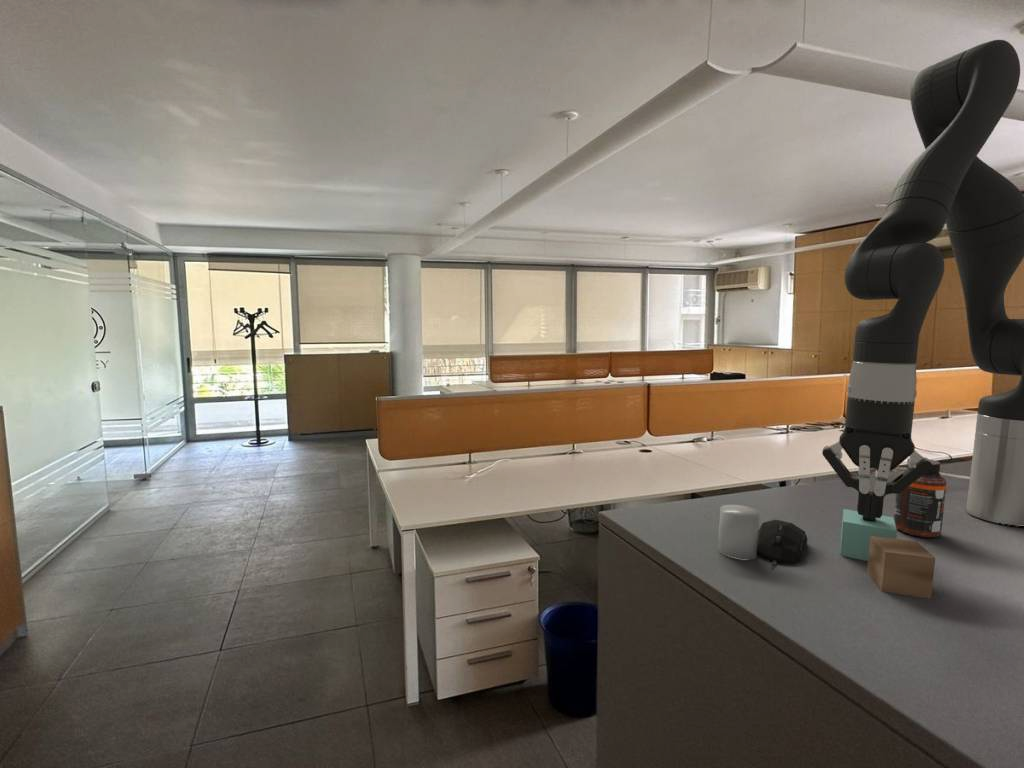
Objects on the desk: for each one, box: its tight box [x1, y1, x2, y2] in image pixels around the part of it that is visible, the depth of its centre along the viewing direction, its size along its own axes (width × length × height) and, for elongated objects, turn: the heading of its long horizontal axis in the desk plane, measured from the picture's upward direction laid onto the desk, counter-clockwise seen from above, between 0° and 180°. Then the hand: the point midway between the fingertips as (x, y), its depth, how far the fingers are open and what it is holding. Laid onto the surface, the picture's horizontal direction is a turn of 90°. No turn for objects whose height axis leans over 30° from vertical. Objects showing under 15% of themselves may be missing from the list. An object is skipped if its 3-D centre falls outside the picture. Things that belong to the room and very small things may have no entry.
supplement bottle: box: [893, 457, 947, 539], centre depth 81 cm, size 6×6×11 cm
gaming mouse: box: [757, 519, 808, 572], centre depth 74 cm, size 6×15×4 cm, turn 147°
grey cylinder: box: [717, 504, 761, 560], centre depth 73 cm, size 5×5×6 cm
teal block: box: [839, 508, 898, 562], centre depth 74 cm, size 6×6×5 cm
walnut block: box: [866, 536, 936, 599], centre depth 64 cm, size 5×5×5 cm
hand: (868, 518), depth 73 cm, fingers closed
